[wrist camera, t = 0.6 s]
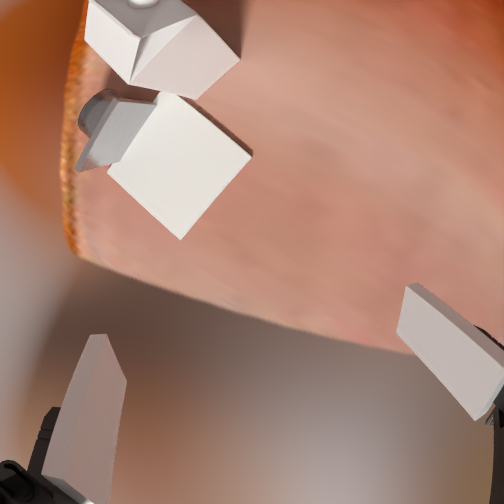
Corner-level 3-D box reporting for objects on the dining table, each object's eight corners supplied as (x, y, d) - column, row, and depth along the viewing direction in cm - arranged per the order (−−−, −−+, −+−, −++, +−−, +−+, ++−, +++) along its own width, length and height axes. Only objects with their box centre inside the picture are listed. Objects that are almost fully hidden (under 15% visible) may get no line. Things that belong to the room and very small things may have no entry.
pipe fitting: (159, 105, 31) (118, 101, 23) (122, 161, 35) (78, 172, 26) (130, 82, 30) (86, 75, 22) (96, 137, 34) (51, 143, 26)
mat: (252, 156, 32) (251, 157, 32) (182, 238, 38) (180, 240, 37) (166, 86, 30) (164, 85, 29) (109, 171, 35) (107, 172, 35)
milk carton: (196, 100, 30) (94, 80, 13) (161, 65, 29) (51, 32, 12) (241, 60, 28) (176, -9, 11) (202, 26, 26) (117, -44, 9)
